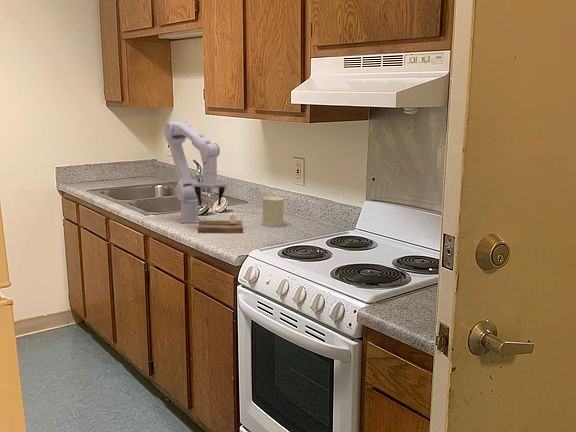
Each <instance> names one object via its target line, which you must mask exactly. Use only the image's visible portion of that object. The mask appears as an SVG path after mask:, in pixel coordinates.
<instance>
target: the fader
mask: <svg viewBox="0 0 576 432" xmlns="http://www.w3.org/2000/svg"><path fill="white" fill-rule="evenodd" d="M229 221H230V225H236V221H237V214H236V212H229Z"/></svg>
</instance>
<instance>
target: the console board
mask: <svg viewBox="0 0 576 432" xmlns="http://www.w3.org/2000/svg"><path fill="white" fill-rule="evenodd" d="M243 225H244V224H243V221H242V220H236V225H230V220H199V222H198V226H197V233H198V234H243V232H244V227H243Z"/></svg>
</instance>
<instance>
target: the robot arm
mask: <svg viewBox="0 0 576 432" xmlns="http://www.w3.org/2000/svg"><path fill="white" fill-rule="evenodd" d="M163 132H164V136H165V139H166V143H167V144H168V146H169V150H170V152H171V156H172V160H173V164H174V166H175V170H176V172H177V176H178V179H179V181H177V184H176V185H175V189H176V197H177V199H178V201H179V202H180V219H179V224H181V223H182V224H184V223H185V224H186V223H187V224H192V223H197V224H199V221H200V217H198V216H199V211H198V210H199V206H202V196H203V189H218V199H217V202H218V203H217V206H219V207H220V206H221V200H222V198H223V195H224V193H225V190H226V189H228V182H218V179H217V178H218V176H217V175H218V169H217V168H218V165H217V164H218V161H217V160H218V157H219V155H220V154H221V149H220V146H219V144H218V143H217V142H211V140H209V139H207V138H206V137H205V136H204V134H202V133H201V134H200V133H199V134H197V133H196V131H195V130H193V129H192V127H191V124H190V123H189V122H188V121H187V120H183V121H166V122H165V124H164V127H163ZM187 139H189V140H190V141H191V144H192V146H193V147H194V148H196V149H197V151H199V154H200V159H201V162H202V182H198V180H196V179H195V178H193V177H192V175H191V174H192V173H191V172H190V167H189V164H188V161H187V157H186V155H185V152H184V148H183V145H182V144H183V143H185V142H186V140H187ZM198 204H199V206H198Z"/></svg>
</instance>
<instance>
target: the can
mask: <svg viewBox="0 0 576 432" xmlns="http://www.w3.org/2000/svg"><path fill="white" fill-rule="evenodd" d="M284 200H285V198H284V197H281V196H264V197H262V224H261V225H263V226H264V227H269V228H270V227H271V228H274V227H276V228H279V227H282V226H284V205H285V204H284Z"/></svg>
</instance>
